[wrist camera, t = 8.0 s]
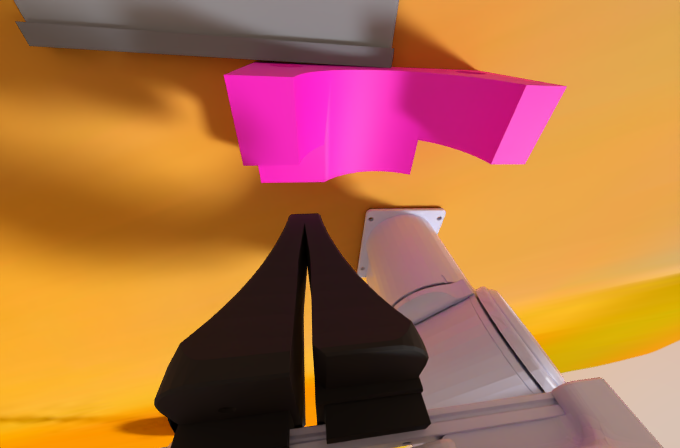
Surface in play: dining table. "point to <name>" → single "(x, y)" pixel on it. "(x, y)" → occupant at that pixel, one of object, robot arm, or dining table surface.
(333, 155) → the toy block
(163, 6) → the rubber mat
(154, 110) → the dining table surface
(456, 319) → the robot arm
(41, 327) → the dining table surface
